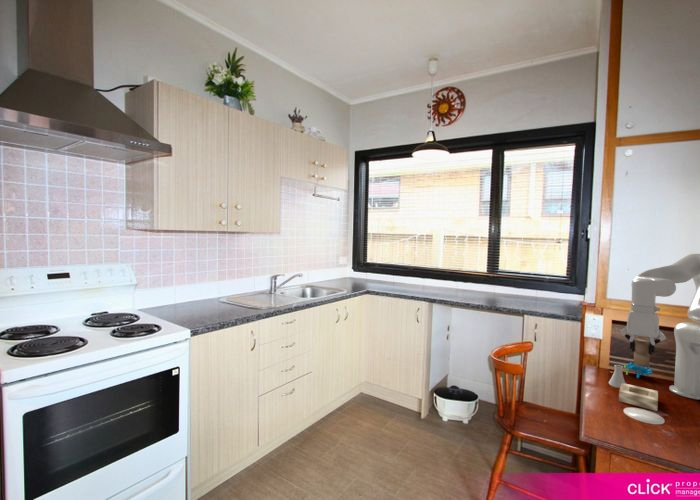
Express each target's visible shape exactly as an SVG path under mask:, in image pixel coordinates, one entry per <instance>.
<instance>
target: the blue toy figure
mask: <svg viewBox="0 0 700 500" xmlns="http://www.w3.org/2000/svg"><path fill="white" fill-rule="evenodd" d="M623 369H624V370H625V371H626V372H625V375H626V376H629V373H634V374H635V375H636V379H640V376H644V375H645V376H647V377H648V376H649V375H652V374H653V369H651V368H650V366H649V367H640V366H637V365H635V364H634V362H629V363H627V364H624V365H623Z"/></svg>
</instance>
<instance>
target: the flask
mask: <svg viewBox="0 0 700 500" xmlns="http://www.w3.org/2000/svg"><path fill="white" fill-rule="evenodd" d="M623 369H624V365H620V364H614V371H613V374H612V376H611V378H610V379H609V381H608V384H609V385H610V386H611V387H614V388H617V389H620V387H621V383H625V384H627V382H626V381H625V378H624V375H623V374H624V373H623Z"/></svg>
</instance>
